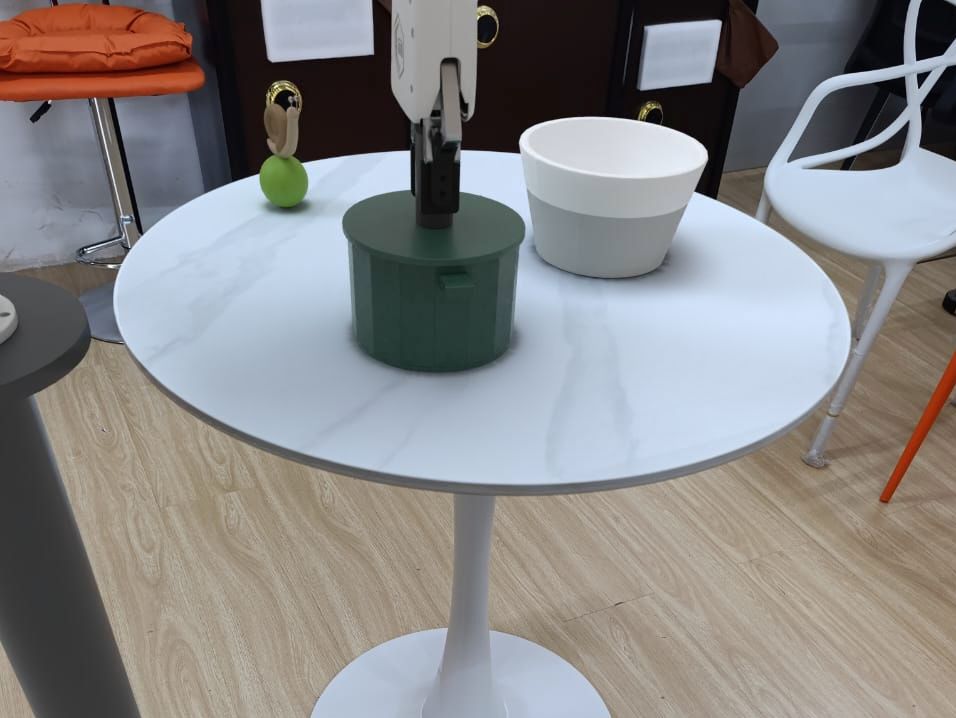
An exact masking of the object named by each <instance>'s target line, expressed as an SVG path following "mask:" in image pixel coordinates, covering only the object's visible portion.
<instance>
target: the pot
mask: <svg viewBox="0 0 956 718" xmlns="http://www.w3.org/2000/svg"><path fill="white" fill-rule="evenodd" d="M347 253H348V271H349V288H350V289H349V290H350V304H351V305H350V306H351V324H352V329H353V335H354V339H355V342H356V344H357V346H358V347H359V348H360V349H361V350H362V351H363V352H364V353H365V354H366V355H367V356H369V357H371V358H372V359H375V360H376V361H378V362H381V363H382V364H385V365H388V366H391V367H394V368H397V369H403V370H406V371H407V370H408V371H413V372H422V373H454V372H461V371H467V370H472V369H475V368H478V367H482V366H485V365H487V364H489V363H491V362H494V361H495V360H497V359H498V358H500V357H502V356H503V355H504V354H505V353H506V352H507V350H508V349H509V347H510V345H511V343H512V340H513V339H512V338H513V332H514V328H515V327H514V325H515V315H516V298H517V287H518V285H517V284H518V272H519V260H520V259H519V258H520V246H519V247H518V248H516V249H515V250H514V251H512V252H510V253H509V254H507V255H504V256H502V257H500V258H497V259H494V260H490V261H486V262H482V263H477V264H470V265H462V266H420V265H411V264H404V263H399V262H394V261H390V260H386V259H382V258H379V257H376V256H373V255H371V254H368V253H366V252H364V251H362V250H360V249H359V248H357V247H355V246H354V245H353V244H352V243H350V242H349V241H348V240H347Z"/></svg>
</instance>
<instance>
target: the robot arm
mask: <svg viewBox="0 0 956 718" xmlns="http://www.w3.org/2000/svg"><path fill="white" fill-rule="evenodd" d="M478 1H479V0H391V53H390V54H391V55H390V56H391V58H390V64H391V65H390V69H391V70H390V85H391V91H392V94H393V96H394V97H395V99H396V101H397V102H398V105H399V106H400V108H401V109H402V111H403V112H404V113H405V115H406V116H407V118H408V119H409V120H410V139H411V143H410V144H409V151H410V152H409V154H410V155H409V156H410V157H409V159H410V161H409V162H410V163H409V167H410V169H409V170H410V173H409V174H410V175H409V176H410V190H411V193H412V195H413V196H414V197H415V130H416V129H417V128H419V127H422V126H423V144H424V160H421V161H420V210H421V212H422V213H423V214H424V215H433V214H454V213H457V212H458V211H459V199H460V192H461V158H462V157H461V156H462V155H461V154H462V153H461V150H462V149H461V146H462V145H461V142H462V139H463V133H462V132H463V130H462V122H464V123H466V122H468V121H469V120H470V119H471V118H472V117H473V115H474V113H475V104H476V91H477V69H478V68H477V67H478V66H477V65H478ZM433 128H441V129H440V132H436V133H435V136H434V137H433ZM17 325H18V316H17V313H16V311H15V308H14V305H13V304H12V303H11V302H10V301H9V299H7V298H5V297H4V296H2V295H0V344H2V343H3V342H4V341H6V340H7V339H8V338H9V337H10V336H11V335H12V334H13V332H14V331H15V330H16V328H17Z"/></svg>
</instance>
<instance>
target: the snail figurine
mask: <svg viewBox="0 0 956 718" xmlns="http://www.w3.org/2000/svg"><path fill="white" fill-rule="evenodd" d="M299 100H300V99H299V96H298V95H296V94H295V95H294V96H290V95H289V96H288V98H287V101H288V102H289V103H290V106H289V107H287V109H286V111H285V109H284V108H283V107H282V106H281V105H280V104H277V103H270V104H268V105H267V106H266V107H265V109H264V114H263V123H264V128H265V131H266V133H267V135H268V138H267V140H266V143H267V145H268V148H269V150H270V151H271V153H272V154H273V155H271V156H270V157H268V158H267V159H265V161H264V162H263V163H262V165H261V168H260V170H259V177H258V179H259V180H258V181H259V185H260V190H261V191H262V193H263V195H264V196H265V198H266V199H267V200H268V201H269V202H270V203H272V204H273V205H275V206H278V207H280V208H292V207H294V206H296V205H299V204H300V203H301V202H303V200H304V198H305V197H306V196H307V192H308V189H309V177H308V173H307V170H306V168H305V167H304V165H303V164H302V162H301V161H300V160H299V159H297V158H296V157H294V154H295V153H296V150H297V146H298V141H299V119H300V114H299V111H298V101H299ZM294 102H295V103H296V107H295V106H293V103H294Z"/></svg>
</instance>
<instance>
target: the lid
mask: <svg viewBox="0 0 956 718" xmlns="http://www.w3.org/2000/svg"><path fill="white" fill-rule="evenodd" d="M440 129H441V128H433V137H434V136H435V133H436V132H440ZM414 144H415V197H414V196H413V195H412V193H411V189H404V190H395V191H389V192H384V193H379V194H376V195H373V196H369V197H367V198H364V199H361V200H360V201H358V202H355V203H354V204H353V205H352V206H350V207H349V208H348V209H347V210H346V211H345V212H344V214H343V216H342V221H341V226H342V227H341V228H342V233H343V235H344V237H345V238H346V240H347V242H348V241H349V242H350V243H352V244H353V245H354V246H355V247H357V248H359V249H360V250H362V251H364V252H366V253H368V254H371V255H373V256H376V257H379V258H382V259H386V260H390V261H394V262H399V263H404V264H411V265H420V266H462V265H470V264H477V263H482V262H486V261H490V260H494V259H497V258H500V257H502V256H504V255H507V254H509V253H510V252H512V251H514V250H515V249H516V248H518V247H519V248H520V246H521V244H522V243H523V242H524V240H525V238H526V229H527V228H526V223H525V221H524V219H523V217H522V216H521V215H520V213H519V212H517V211H516V210H514V209H513V208H511V207H510V206H508V205H506V204H505V203H503V202H501V201H498V200H494V199H493V198H489V197H486V196H483V195H480V194H475V193H469V192H465V191H460V199H459V211H458V212H457V213H454V214H433V215H424V214H423V213H422V212H421V210H420V161H421V160H424V144H423V126H422V127H419V128H417V129H416V130H415V143H414Z"/></svg>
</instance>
